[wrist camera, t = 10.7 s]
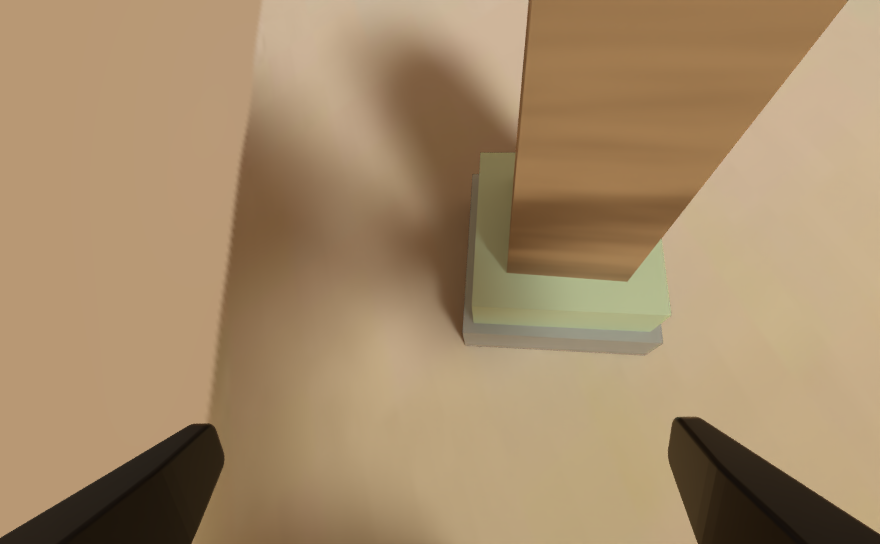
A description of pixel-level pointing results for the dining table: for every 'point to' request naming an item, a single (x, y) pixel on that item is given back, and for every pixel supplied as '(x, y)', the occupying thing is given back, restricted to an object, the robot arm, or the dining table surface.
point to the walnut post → (637, 118)
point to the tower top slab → (553, 296)
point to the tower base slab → (545, 335)
